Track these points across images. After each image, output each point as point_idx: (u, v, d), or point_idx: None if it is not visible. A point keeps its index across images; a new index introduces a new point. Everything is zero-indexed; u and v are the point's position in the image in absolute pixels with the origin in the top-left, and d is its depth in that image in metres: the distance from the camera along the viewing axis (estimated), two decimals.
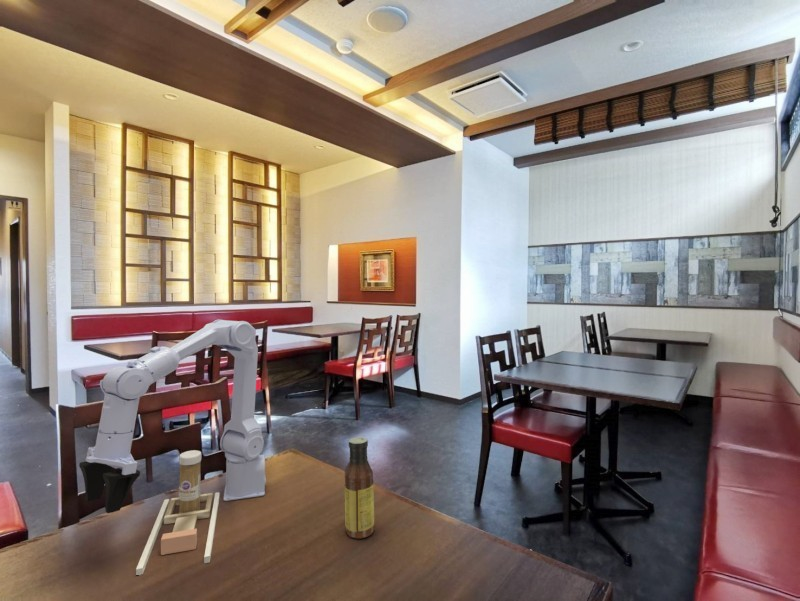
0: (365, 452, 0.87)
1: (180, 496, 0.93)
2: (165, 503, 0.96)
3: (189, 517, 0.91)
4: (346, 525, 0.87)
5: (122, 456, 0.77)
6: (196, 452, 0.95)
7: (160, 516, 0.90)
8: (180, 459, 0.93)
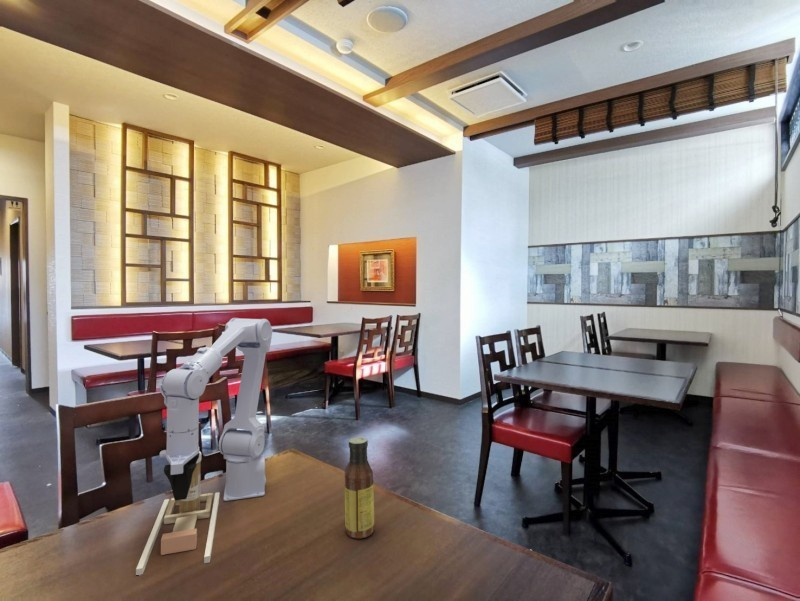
0: (365, 452, 0.87)
1: None
2: (165, 503, 0.96)
3: (189, 517, 0.91)
4: (346, 525, 0.87)
5: (183, 454, 0.81)
6: None
7: (160, 516, 0.90)
8: None
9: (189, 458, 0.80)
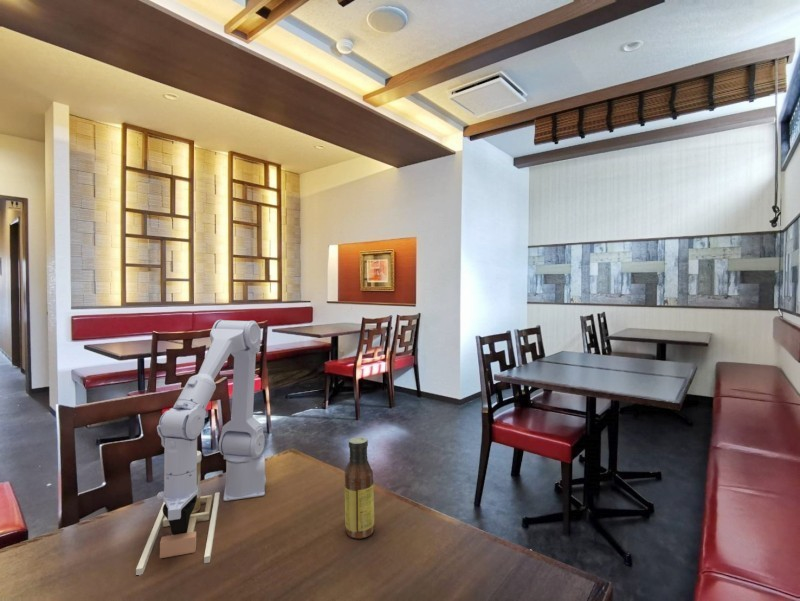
0: (365, 452, 0.87)
1: None
2: None
3: None
4: (346, 525, 0.87)
5: (180, 496, 0.79)
6: None
7: (160, 516, 0.90)
8: None
9: (187, 501, 0.78)
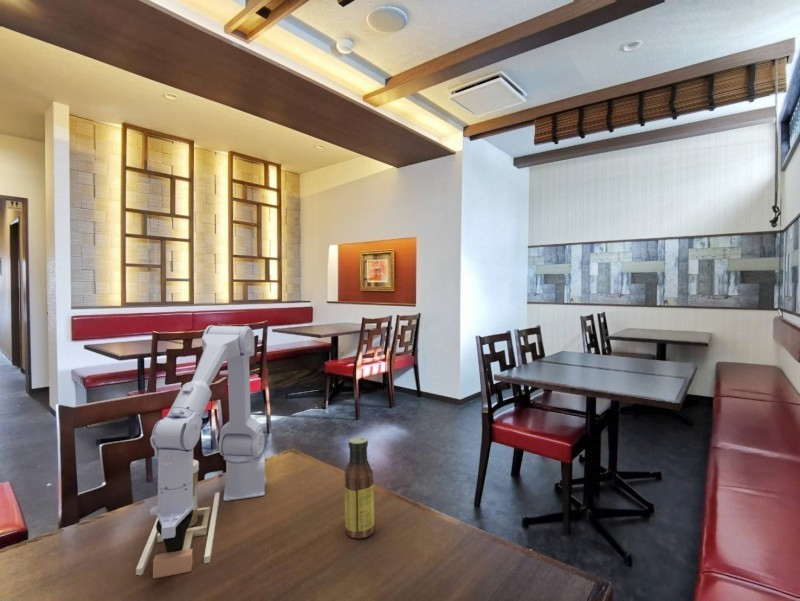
0: (365, 452, 0.87)
1: None
2: None
3: None
4: (346, 525, 0.87)
5: (175, 512, 0.74)
6: (193, 462, 0.90)
7: None
8: None
9: (182, 517, 0.73)
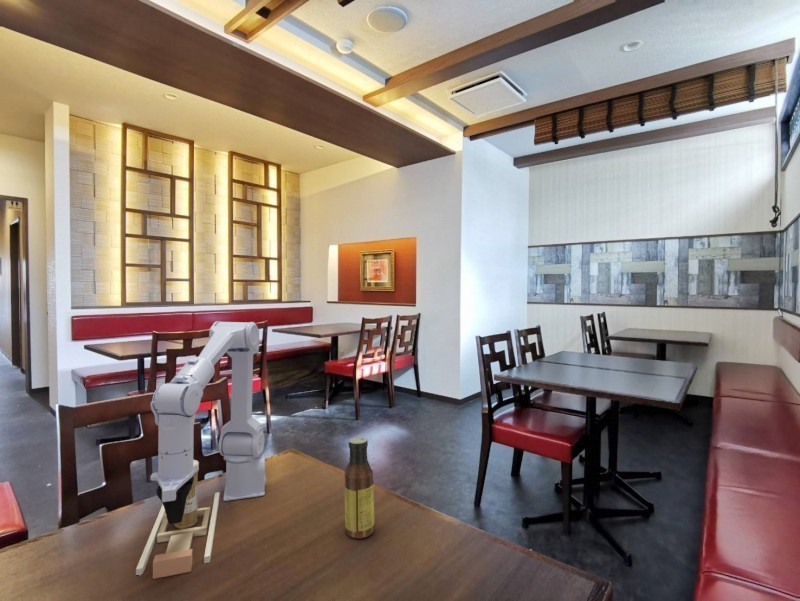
0: (365, 452, 0.87)
1: None
2: None
3: (184, 534, 0.84)
4: (346, 525, 0.87)
5: (176, 477, 0.73)
6: (193, 462, 0.90)
7: (160, 516, 0.90)
8: None
9: (183, 482, 0.73)
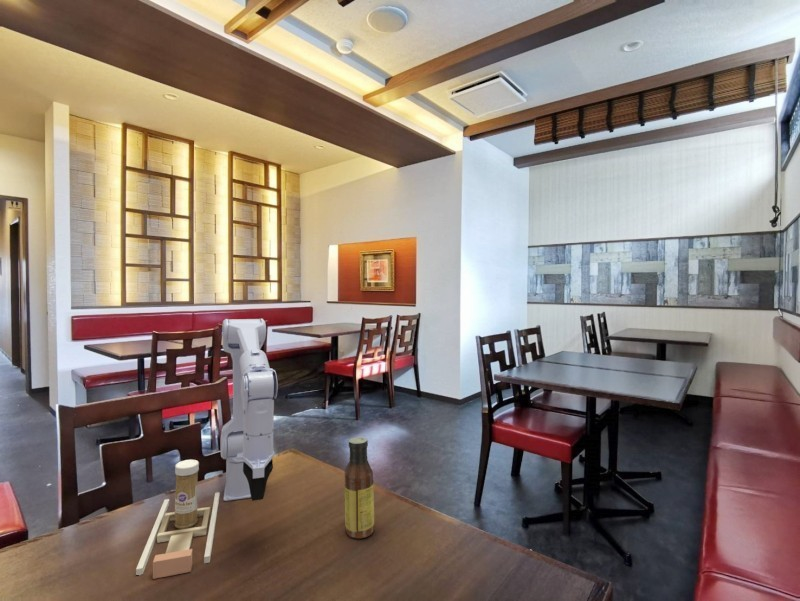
0: (365, 452, 0.87)
1: (176, 508, 0.88)
2: (165, 503, 0.96)
3: (184, 534, 0.84)
4: (346, 525, 0.87)
5: (260, 457, 0.80)
6: (193, 462, 0.90)
7: (160, 516, 0.90)
8: (176, 469, 0.88)
9: (267, 461, 0.79)
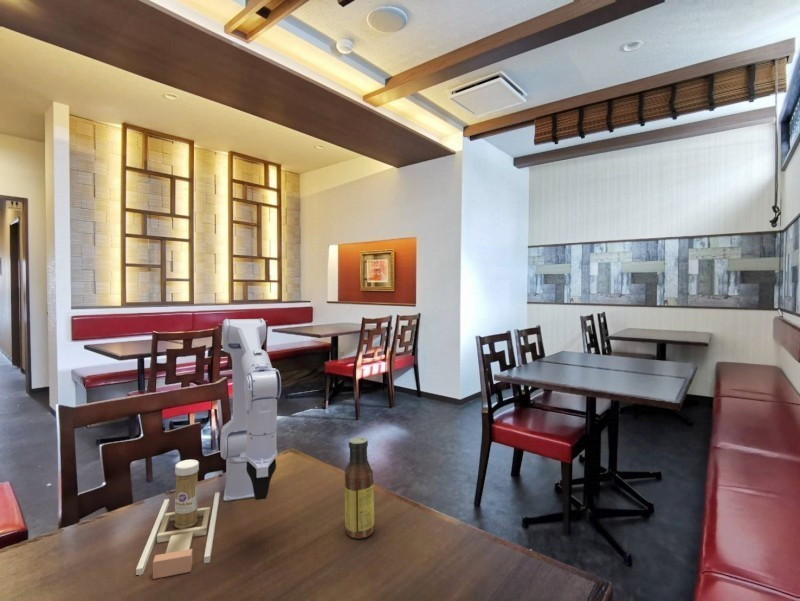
0: (365, 452, 0.87)
1: (176, 508, 0.88)
2: (165, 503, 0.96)
3: (184, 534, 0.84)
4: (346, 525, 0.87)
5: (264, 456, 0.80)
6: (193, 462, 0.90)
7: (160, 516, 0.90)
8: (176, 469, 0.88)
9: (271, 461, 0.80)
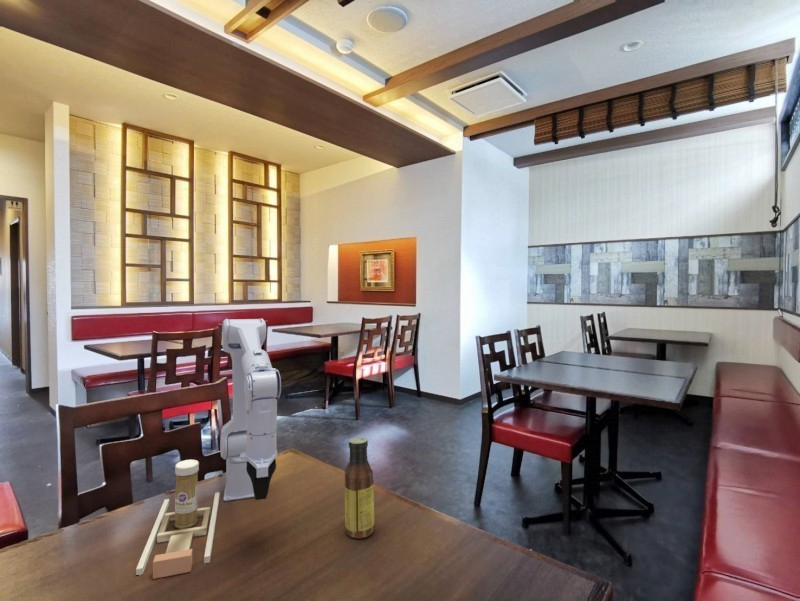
0: (365, 452, 0.87)
1: (176, 508, 0.88)
2: (165, 503, 0.96)
3: (184, 534, 0.84)
4: (346, 525, 0.87)
5: (264, 456, 0.80)
6: (193, 462, 0.90)
7: (160, 516, 0.90)
8: (176, 469, 0.88)
9: (271, 461, 0.80)
